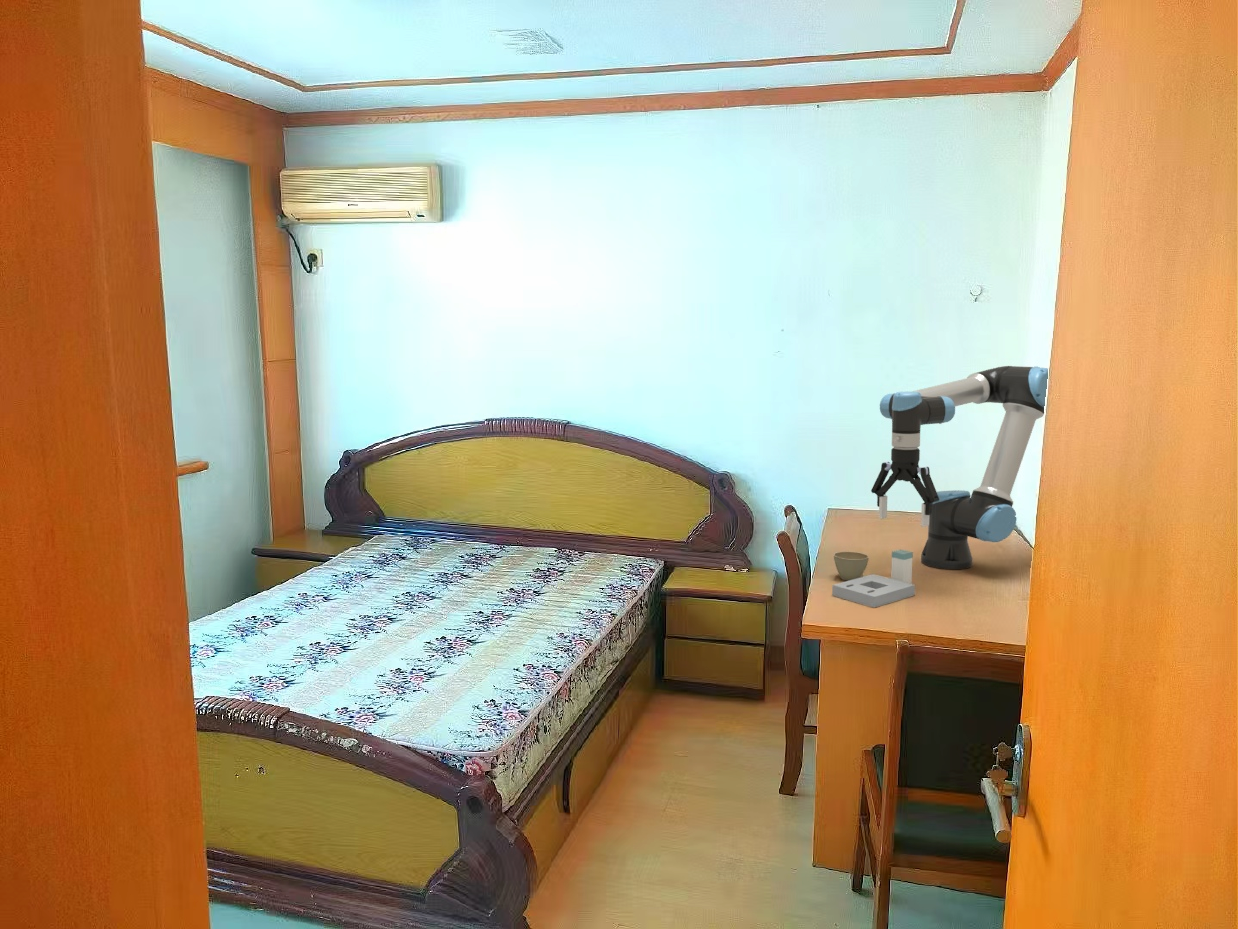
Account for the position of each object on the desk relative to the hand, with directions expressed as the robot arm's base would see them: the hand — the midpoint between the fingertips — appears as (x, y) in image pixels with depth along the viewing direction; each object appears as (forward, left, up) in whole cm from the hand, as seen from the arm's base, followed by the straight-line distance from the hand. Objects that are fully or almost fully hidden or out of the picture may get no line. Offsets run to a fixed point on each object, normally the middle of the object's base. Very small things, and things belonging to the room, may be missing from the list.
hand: (903, 522), depth 251 cm
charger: (-2, -1, -19) cm, 19 cm away
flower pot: (+4, -15, -19) cm, 25 cm away
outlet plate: (+12, 0, -19) cm, 23 cm away
